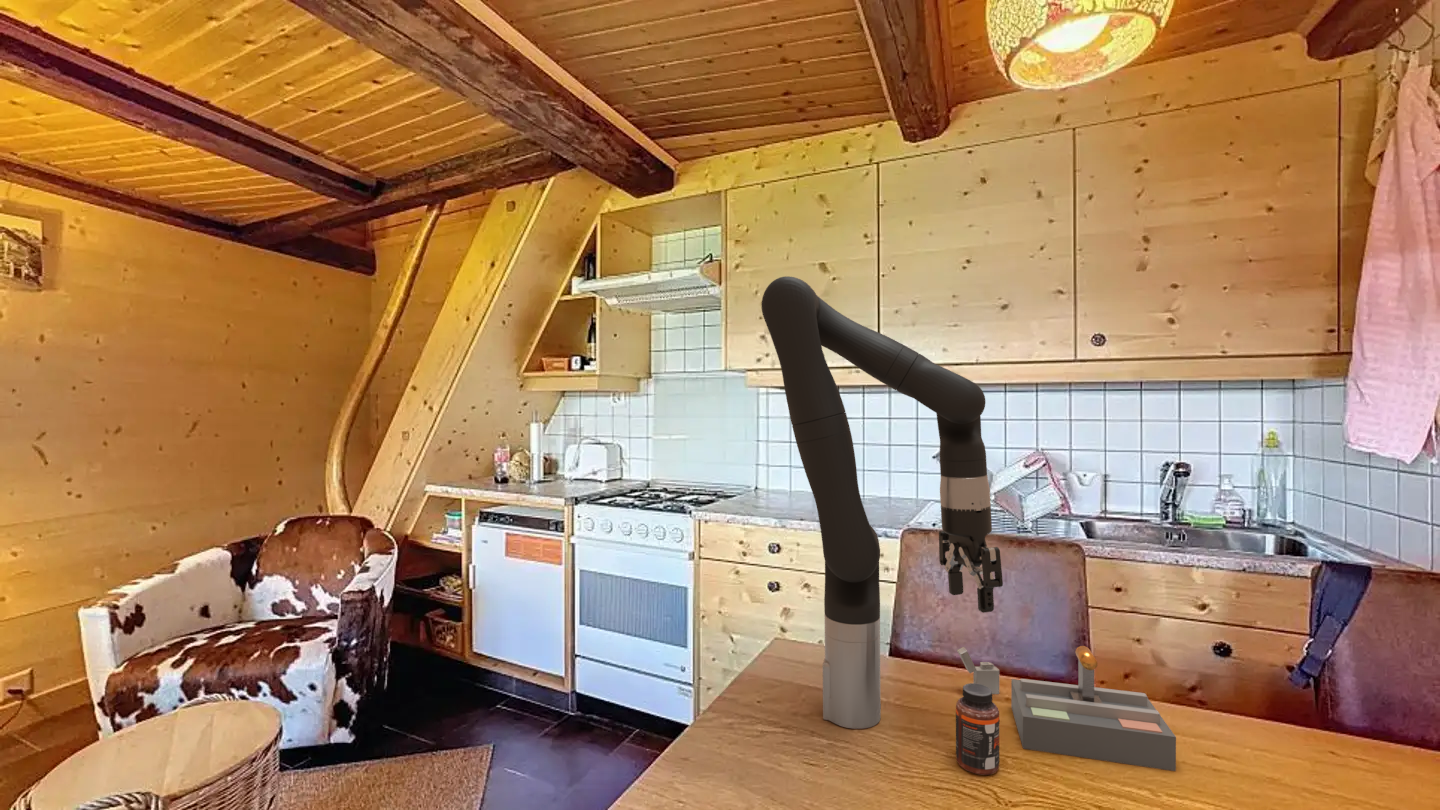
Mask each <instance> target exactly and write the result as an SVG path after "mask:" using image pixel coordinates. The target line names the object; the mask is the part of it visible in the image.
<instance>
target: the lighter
mask: <svg viewBox="0 0 1440 810" xmlns="http://www.w3.org/2000/svg"><path fill="white" fill-rule="evenodd" d="M956 651H957V653H958V655H959V657H960V660H961V661H962V663H963V665H964V667H965V670H967V672H968V673H969V674H971V673H973V674H972V675H973V676H972V677H973V678H972V679H973V681H972V683H976V684H981V685H984V686H987V687H988V688H990V689H991V691H992V695H999V694H1000V669H999V668H998V667H997V666H995V665H994V663H993V662H992V663H991V661H990V662H989V661H981V662H979V666H975V664H974V662H973V660H972V657H971V656H970V654H969V651H968V650H967V649H966V648H965V647H964V646H963V647H961V648H959V649H957V650H956Z"/></svg>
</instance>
